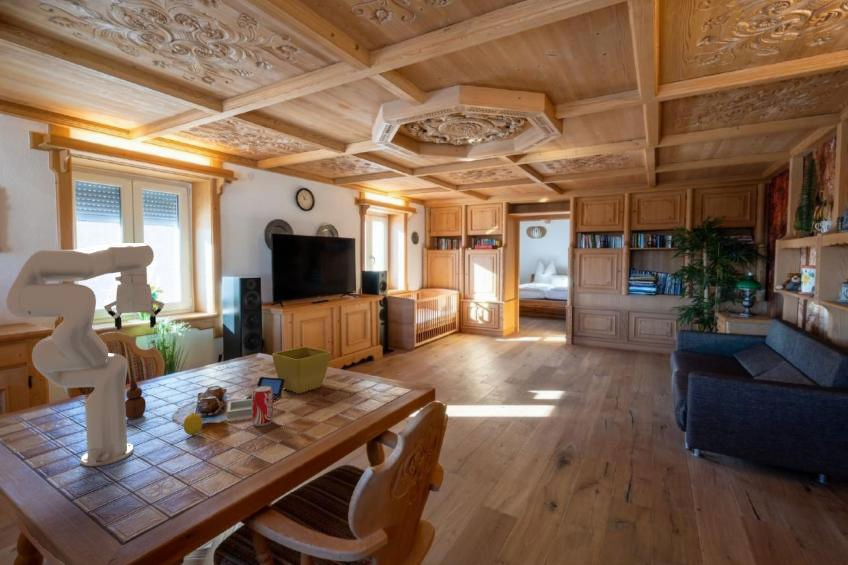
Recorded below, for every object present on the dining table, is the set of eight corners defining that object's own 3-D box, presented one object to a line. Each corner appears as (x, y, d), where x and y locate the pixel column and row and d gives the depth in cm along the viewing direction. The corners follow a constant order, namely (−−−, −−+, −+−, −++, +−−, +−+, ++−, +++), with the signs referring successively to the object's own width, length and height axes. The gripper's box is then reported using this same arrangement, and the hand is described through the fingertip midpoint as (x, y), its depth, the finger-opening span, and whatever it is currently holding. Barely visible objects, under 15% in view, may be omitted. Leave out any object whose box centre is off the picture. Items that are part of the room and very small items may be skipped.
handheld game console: (244, 401, 170) (244, 384, 169) (260, 392, 180) (260, 376, 180) (271, 403, 167) (271, 386, 167) (285, 395, 178) (285, 378, 177)
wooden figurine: (133, 421, 148) (131, 381, 147) (120, 420, 149) (118, 380, 148) (149, 414, 154) (148, 376, 153) (137, 413, 156) (135, 375, 155)
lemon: (199, 430, 141) (199, 408, 140) (204, 435, 137) (204, 412, 136) (181, 435, 137) (181, 412, 136) (186, 441, 133) (185, 417, 132)
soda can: (248, 423, 147) (247, 388, 146) (267, 417, 152) (266, 384, 151) (257, 429, 142) (256, 393, 141) (276, 422, 147) (276, 388, 147)
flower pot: (305, 379, 200) (305, 345, 199) (331, 386, 189) (331, 351, 187) (271, 389, 184) (271, 353, 183) (297, 398, 173) (297, 359, 172)
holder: (259, 417, 152) (259, 408, 152) (227, 422, 148) (226, 412, 148) (258, 405, 164) (258, 397, 164) (228, 409, 160) (228, 400, 160)
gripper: (100, 281, 134) (102, 331, 135) (161, 280, 141) (163, 328, 143) (106, 279, 141) (108, 328, 142) (164, 278, 148) (166, 324, 149)
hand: (136, 328), depth 142 cm, fingers open, 9 cm apart
